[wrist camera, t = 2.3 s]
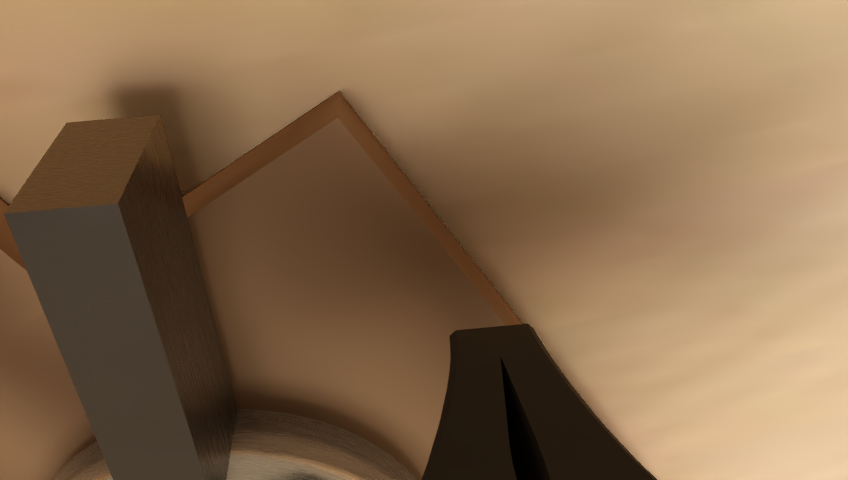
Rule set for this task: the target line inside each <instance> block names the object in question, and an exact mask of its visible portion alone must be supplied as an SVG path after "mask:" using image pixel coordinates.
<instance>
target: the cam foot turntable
mask: <svg viewBox="0 0 848 480" xmlns="http://www.w3.org/2000/svg"><path fill="white" fill-rule="evenodd" d="M4 216H5V219H6V221H7V223H8V226H9V228H10V231H11V233H12V236H13V238H14V240H15V243H16V245H17V248H18V250H19V253H20V255H21V257H22V260H23V262H24V265H25V267H26V270H27V272H28V274H29V277H30V279H31V282H32V284H33V287H34V289H35V292H36V294H37V296H38V299H39V301H40V304H41V306H42V309H43V311H44V313H45V316H46V318H47V321H48V323H49V326H50V328H51V330H52V333H53V335H54V338H55V340H56V343H57V345H58V347H59V350H60V352H61V355H62V357H63V360H64V362H65V364H66V367H67V369H68V372H69V374H70V377H71V379H72V381H73V384H74V386H75V389H76V391H77V394H78V396H79V398H80V401H81V403H82V406H83V408H84V411H85V413H86V415H87V418H88V420H89V423H90V425H91V428H92V430H93V432H94V435H95V437H96V440H97V442H95V443H93V444H92V445H90V446H89V447H87V448H86V449H85V450H83V451H82V452H80V453H79V454H77V455H76V456H75V457H74V458H73V459H72V460H70V461H69V462H68V463H67V464H66V465H65V466H64V467H63V468H62V469H61V470H60V471H59V472H58V473H57V475H56V476H55V477H54V479H53V480H417V479H416V478H415V477H414V476H413V475H412V474H411V473H410V472H409V471H408V469H407V468H406V467H405V466H403V465H402V464H401V463H400V462H399V461H397V460H396V459H395V458H394V457H393V456H391V455H390V454H389V453H388V452H386V451H384V450H383V449H381V448H379V447H378V446H376V445H375V444H373V443H371V442H370V441H368V440H366V439H364V438H362V437H360V436H358V435H356V434H354V433H351V432H349V431H347V430H345V429H342V428H339V427H337V426H334V425H331V424H328V423H325V422H322V421H319V420H315V419H311V418H307V417H302V416H298V415H294V414H289V413H282V412H274V411H267V410H257V409H238V407H237V404H236V400H235V396H234V392H233V388H232V385H231V381H230V377H229V373H228V370H227V366H226V362H225V358H224V354H223V351H222V347H221V343H220V339H219V336H218V332H217V328H216V324H215V320H214V317H213V313H212V309H211V305H210V301H209V298H208V294H207V290H206V286H205V283H204V279H203V275H202V271H201V267H200V264H199V260H198V256H197V252H196V249H195V245H194V241H193V237H192V233H191V230H190V226H189V222H188V218H187V214H186V211H185V207H184V203H183V199H182V196H181V192H180V188H179V184H178V180H177V177H176V173H175V169H174V165H173V162H172V158H171V154H170V150H169V146H168V143H167V139H166V135H165V131H164V127H163V124H162V120H161V116H160V115H150V116H139V117H128V118H116V119H105V120H93V121H82V122H71V123H66V124H65V126H64V127H63V129H62V130H61V132H60V133H59V134H58V136H57V137H56V139H55V140H54V142H53V143H52V145H51V146H50V147H49V149H48V150H47V152H46V153H45V155H44V156H43V158H42V159H41V160H40V162H39V163H38V165H37V166H36V168H35V169H34V171H33V172H32V173H31V175H30V176H29V178H28V179H27V181H26V182H25V184H24V185H23V186H22V188H21V189H20V191H19V192H18V194H17V195H16V197H15V198H14V199H13V201H12V202H11V204H10V205H9V207H8V208H7V210H6V211H5V212H4Z"/></svg>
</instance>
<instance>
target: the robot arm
mask: <svg viewBox="0 0 848 480" xmlns="http://www.w3.org/2000/svg"><path fill="white" fill-rule="evenodd" d="M449 337H450V355H451V359H450V371H449V378H448V384H447V390H446V395H445V400H444V404H443V409H442V413H441V418H440V422H439V426H438V430H437V433H436V436H435V439H434V443H433V446H432V449H431V453H430V456H429V459H428V462H427V465H426V468H425V471H424V474H423V477H422V479H421V480H657V479H656V478H655V477H654V476H653V475H652V474H651V473H650V472H649V471H647V470H646V469H645V468H644V467H643V466H642V465H641V464H640V463H639V462H638V461H637V460H636V459H635V458H634V457H633V456H632V455H631V454H630V453H629V452H628V451H627V449H626V448H625V447H624V446H623V445H622V444H621V443H620V442H619V441H618V440H617V439H616V438H615V437H614V435H613V434H612V433H611V432H610V431H609V430H608V429H607V428H606V427H605V425H604V424H603V423H602V422H601V421H600V420H599V419H598V417H597V416H596V415H595V414H594V413H593V411H592V410H591V409H590V408H589V406H588V405H587V404H586V403H585V401H584V400H583V399H582V398H581V397H580V395H579V394H578V393H577V392H576V390H575V389H574V388H573V386H572V385H571V384H570V383H569V381H568V380H567V379H566V377H565V376H564V374H563V373H562V372H561V370H560V369H559V367H558V366H557V365H556V363H555V362H554V360H553V359H552V357H551V356H550V355H549V353H548V352H547V350H546V348H545V347H544V345H543V344H542V342H541V341H540V339H539V337H538V336H537V334H536V332H535V330H534V329H533V328H532V327H531V326H530V325H528V324H517V325H507V326H496V327H485V328H474V329H464V330H456V331H454V332H453V333H452V334H451V335H450V336H449Z"/></svg>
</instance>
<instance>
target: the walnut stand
mask: <svg viewBox="0 0 848 480" xmlns="http://www.w3.org/2000/svg"><path fill="white" fill-rule="evenodd" d="M182 199H183V203H184V207H185V211H186V214H187V218H188V222H189V226H190V230H191V233H192V237H193V241H194V245H195V249H196V252H197V256H198V260H199V264H200V267H201V271H202V275H203V279H204V283H205V286H206V290H207V294H208V298H209V301H210V305H211V309H212V313H213V317H214V320H215V324H216V328H217V332H218V336H219V339H220V343H221V347H222V351H223V354H224V358H225V362H226V366H227V370H228V373H229V377H230V381H231V385H232V388H233V392H234V396H235V400H236V404H237V407H238V409H257V410H267V411H274V412H282V413H289V414H294V415H298V416H302V417H307V418H311V419H315V420H319V421H322V422H325V423H328V424H331V425H334V426H337V427H339V428H342V429H345V430H347V431H349V432H351V433H354V434H356V435H358V436H360V437H362V438H364V439H366V440H368V441H370V442H371V443H373V444H375V445H376V446H378V447H379V448H381V449H383V450H384V451H386V452H388V453H389V454H390V455H391V456H393V457H394V458H395V459H396V460H397V461H399V462H400V463H401V464H402V465H403V466H405V467H406V468H407V469H408V471H409V472H410V473H411V474H412V475H413V476H414V477H415V478H416V479H417V480H421V479H422V477H423V474H424V471H425V468H426V465H427V462H428V459H429V456H430V453H431V449H432V446H433V443H434V439H435V436H436V433H437V430H438V426H439V422H440V418H441V413H442V409H443V404H444V400H445V395H446V390H447V384H448V378H449V371H450V359H451V355H450V337H449V336H450V335H451V334H452V333H453V332H454V331H456V330H464V329H474V328H485V327H496V326H507V325H517V324H522V323H521V322H520V320H519V319H518V318H517V317H516V315H515V314H514V313H513V311H512V310H511V309H510V308H509V306H508V305H507V304H506V303H505V301H504V300H503V299H502V297H501V296H500V295H499V294H498V292H497V291H496V290H495V289H494V287H493V286H492V285H491V284H490V282H489V281H488V280H487V278H486V277H485V276H484V275H483V273H482V272H481V271H480V270H479V268H478V267H477V266H476V265H475V263H474V262H473V261H472V259H471V258H470V257H469V256H468V254H467V253H466V252H465V251H464V249H463V248H462V247H461V246H460V244H459V243H458V242H457V240H456V239H455V238H454V237H453V235H452V234H451V233H450V232H449V230H448V229H447V228H446V227H445V225H444V224H443V223H442V221H441V220H440V219H439V218H438V216H437V215H436V214H435V213H434V211H433V210H432V209H431V208H430V206H429V205H428V204H427V202H426V201H425V200H424V199H423V197H422V196H421V195H420V194H419V192H418V191H417V190H416V188H415V187H414V186H413V185H412V183H411V182H410V181H409V180H408V178H407V177H406V176H405V175H404V173H403V172H402V171H401V169H400V168H399V167H398V166H397V164H396V163H395V162H394V161H393V159H392V158H391V157H390V156H389V154H388V153H387V152H386V150H385V149H384V148H383V147H382V145H381V144H380V143H379V142H378V140H377V139H376V138H375V137H374V135H373V134H372V133H371V131H370V130H369V129H368V128H367V126H366V125H365V124H364V123H363V121H362V120H361V119H360V118H359V116H358V115H357V114H356V112H355V111H354V110H353V109H352V107H351V106H350V105H349V104H348V102H347V101H346V100H345V99H344V97H343V96H342V95H341V93H340V92H338V93H336V94H335V95H333V96H332V97H330V98H329V99H327V100H326V101H324V102H323V103H321V104H320V105H318V106H317V107H315V108H314V109H312V110H311V111H309V112H308V113H306V114H305V115H303V116H302V117H300V118H299V119H298V120H296V121H295V122H293V123H292V124H290V125H289V126H287V127H286V128H284V129H283V130H281V131H280V132H278V133H277V134H275V135H274V136H272V137H271V138H269V139H268V140H266V141H265V142H263V143H262V144H260V145H259V146H257V147H256V148H254V149H253V150H252V151H250V152H249V153H247V154H246V155H244V156H243V157H241V158H240V159H238V160H237V161H235V162H234V163H232V164H231V165H229V166H228V167H226V168H225V169H223V170H222V171H220V172H219V173H217V174H216V175H214V176H213V177H211V178H210V179H208V180H207V181H206V182H204V183H203V184H201V185H200V186H198V187H197V188H195V189H194V190H192V191H191V192H189V193H188V194H186V195H185V196H183V197H182ZM8 207H9V206H8V205H7V204H6V203H5V202H4V201H2V200H1V199H0V480H53V479H54V477H55V476H56V475H57V473H58V472H59V471H60V470H61V469H62V468H63V467H64V466H65V465H66V464H67V463H68V462H69V461H70V460H72V459H73V458H74V457H75V456H76V455H77V454H79V453H80V452H82V451H83V450H85V449H86V448H87V447H89V446H90V445H92V444H93V443H95V442H97V440H96V437H95V435H94V432H93V430H92V428H91V425H90V423H89V420H88V418H87V415H86V413H85V411H84V408H83V406H82V403H81V401H80V398H79V396H78V394H77V391H76V389H75V386H74V384H73V381H72V379H71V377H70V374H69V372H68V369H67V367H66V364H65V362H64V360H63V357H62V355H61V352H60V350H59V347H58V345H57V343H56V340H55V338H54V335H53V333H52V330H51V328H50V326H49V323H48V321H47V318H46V316H45V313H44V311H43V309H42V306H41V304H40V301H39V299H38V296H37V294H36V292H35V289H34V287H33V284H32V282H31V279H30V277H29V274H28V272H27V270H26V267H25V265H24V262H23V260H22V257H21V255H20V253H19V250H18V248H17V245H16V243H15V240H14V238H13V236H12V233H11V231H10V228H9V226H8V223H7V221H6V219H5V216H4V212H5V211H6V210H7V208H8Z"/></svg>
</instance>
